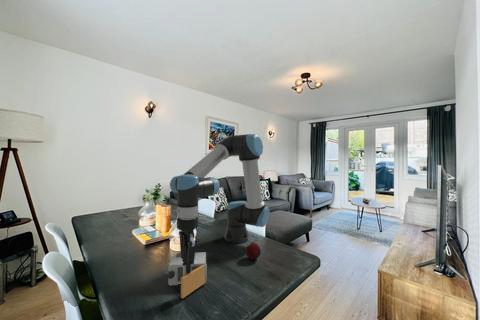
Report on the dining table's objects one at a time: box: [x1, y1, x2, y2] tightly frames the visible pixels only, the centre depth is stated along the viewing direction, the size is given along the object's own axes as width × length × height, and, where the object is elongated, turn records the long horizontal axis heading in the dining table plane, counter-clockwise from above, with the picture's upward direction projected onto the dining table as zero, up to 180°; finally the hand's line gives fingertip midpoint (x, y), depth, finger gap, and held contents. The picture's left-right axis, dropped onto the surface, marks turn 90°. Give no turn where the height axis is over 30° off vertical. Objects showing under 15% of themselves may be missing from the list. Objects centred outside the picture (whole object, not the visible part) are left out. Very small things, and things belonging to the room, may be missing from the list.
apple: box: [245, 241, 262, 261], centre depth 103 cm, size 7×8×8 cm
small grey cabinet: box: [167, 251, 207, 286], centre depth 86 cm, size 14×11×9 cm
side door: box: [180, 263, 208, 299], centre depth 77 cm, size 12×1×7 cm, turn 145°
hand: (187, 280), depth 76 cm, fingers closed
